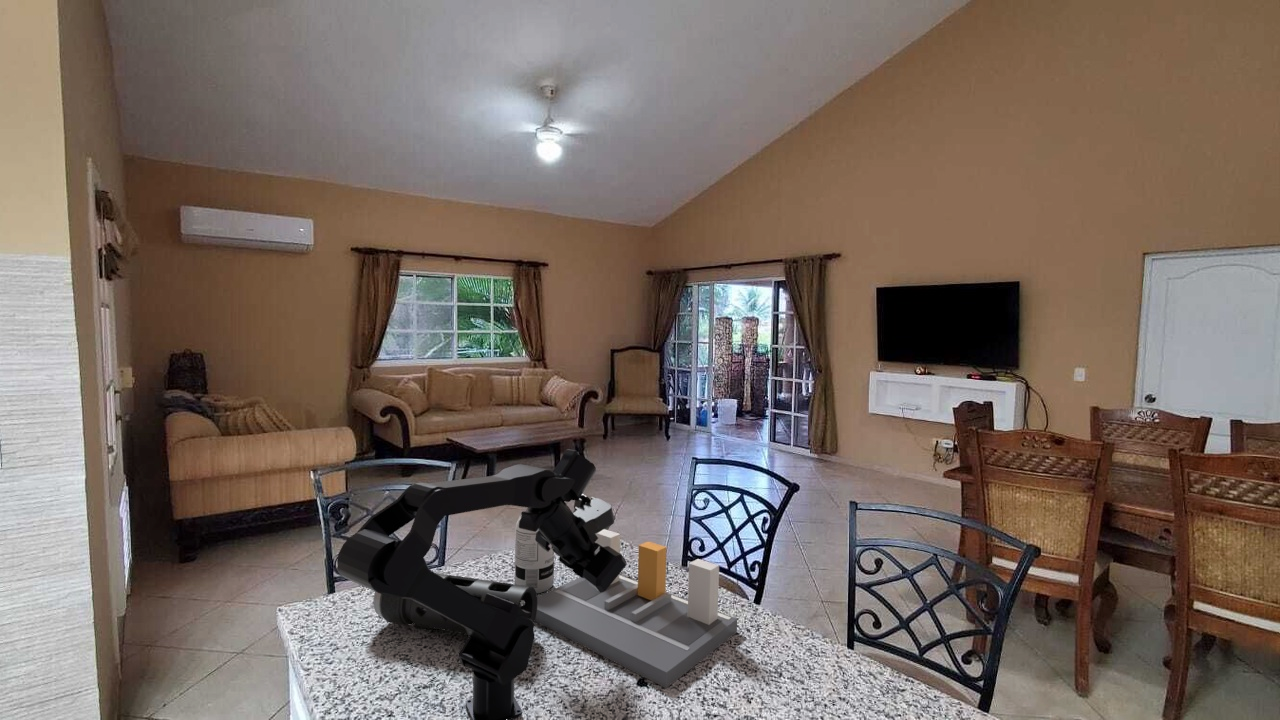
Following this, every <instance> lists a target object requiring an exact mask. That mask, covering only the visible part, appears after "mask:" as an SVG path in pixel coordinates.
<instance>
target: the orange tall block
mask: <svg viewBox="0 0 1280 720" xmlns="http://www.w3.org/2000/svg"><path fill="white" fill-rule="evenodd" d="M667 548H668V547H667V546H664V545H661V544H658V543H655V542H652V541H645V542H642V543H641V544H639V545H638V557H637V558H638V561H637V563H638V564H637V565H638V568H637V569H638V570H637V581H638V595H639V596H641V597H644V598H646V599H649V600H651V601H652V600H654V599H656V598H658V597H659V596H661V595H663V594H665V592H666V586H667V585H666V583H667V582H666V580H667V576H666V575H667Z"/></svg>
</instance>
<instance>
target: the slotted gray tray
mask: <svg viewBox="0 0 1280 720" xmlns="http://www.w3.org/2000/svg"><path fill="white" fill-rule="evenodd" d="M596 536H597V537H598V539H597V540H596V541H595V543H598V544H599V545H601V546H602V547H606V546H609V547H611V548H612V549H614V550H615V551H617V552H618V553H620V554H621V534H620V533H618V532H615V531H611V530H609V529H608V530H606V529H603V530H602V531H600V532H599V533H596ZM719 580H720V565H718V564H717V563H713V562H710V561H706V560H703V559H701V558H700V559H699V558H697V559H695V560H692V561H691V562H689V563H688V584H687V585H688V590H687V599H686V598H683V597H681V596H677V595H676V594H672V593H671V592H669V591H665V594H663V595H661V596H659V597H658V598H656V599H654V600H652V601H651V600H649V599H646V598H644V597H641V596H639V595H638V580H636V579H633V578H630V577H627V576H624V575H622V574H619V575H618V576H617V577H616V578H615V580H614V581H613V582H612V583H611V585H610V586H609V587H608V588H607V589H606V591H605V592H601V593H600V592H599V591H597V590H596V589H595V588H594V587H592V586H591V585H590V584H589V583H588V582H587V581H586V580H585V579H584V578H581V577H578V578H576V579H574V580H571V581H569V582H567V583H565V584H563V585H560V586H558V587H556V588H553V589H550V590H548V591H545V592H543V593H541V594H540V595H537V613H536V618H535V622H536V623H538V624H539V625H541V626H543V627H545V628H547V629H549V630H551V631H553V632H555V633H557V634H559V635H561V636H562V637H564V638H567V639H568V640H570V641H573V642H574V643H577V644H579V645H581V646H582V647H584V648H586V649H588V650H591V651H592V652H594V653H596V654H598V655H599V656H602V657H604V658H607V660H609V661H612V662H614V663H616V664H618V665H619V666H621V667H624V669H627V670H629V671H631V672H633V673H636V674H637V675H639V676H642V677H643V678H645V679H646V680H649V681H651V682H653V683H655V684H657V685H659V686H660V687H663V688H665V689H668V688H669V687H670V686H672V685H673V684H674V683H675V682H677V680H678V679H680V678H681V677H683V675H684V674H686V673H687V672H688V671H690V670H691V669H692V668H693V667H695V666H696V665H698V664H699V663H701V661H703V660H704V659H705V658H706V657H708V656H709V655H710V654H711V653H713V652H714V651H716V649H718V648H719V647H720V646H721V645H723V644H724V643H726V642H727V641H728V640H729V639H730V638H731V637H733V636H734V635H735V634H737V632H738V618H736V617H734V616H731V615H728V614H726V613H723V612H720V611H719V585H720V583H719V582H720V581H719ZM524 604H525V601H524V602H523V605H524ZM535 622H534V623H535Z"/></svg>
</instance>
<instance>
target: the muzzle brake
mask: <svg viewBox="0 0 1280 720" xmlns="http://www.w3.org/2000/svg"><path fill="white" fill-rule="evenodd" d="M435 573H436V574H437V575H439V576H441V577H442V578H444V579H446V580H447V581H449V582H451V583H452V584H454V585H456V586H457V587H459V588H461V589H462V590H464V591H466V592H468V593H469V594H471V595H473V596H474V597H476V598H478V599H479V600H481V601H483V602H484V599H485V596H486V594H487V593H488V594H491V595H494V596H496V597H499V598H502V599H504V600H507V601H510V602H512V603H515V604H516V605H518V606H519V607H520V608H521V609H523V610H525V611H528V612H530V613H531V615H530V617H529V618H530V619H531V620H532V621H533V622H534V623H535V618H536V613H537V596H538V594H536V591H535V589H534V588H533V587H530V586H523V585H516V584H515V583H507V582H502V581H501V582H500V581H495V580H493V581H492V580H487V579H479V578H472V577H466V576H459V575H454V574H453V575H451V574H443V573H439V572H438V573H437V572H435ZM521 601H524V602H525V604H524V603H523V604H521ZM372 604H373V610H374V612H375V614H376V615H378V616H379V617H381V618H383V619H384V621H386V622H387V623H390V624H395V625H396V624H397V625H403V626H410V625H414V628H415V629H417V630H424V631H427V632H432V631H433V630H434V629H435V630H443V631H448V632H454V633H459V634H460V636H465V635H468V634H467V631H466V629H465V628H464V627H463V626H461V625H459V624H457V623H455V622H453V621H452V620H450V619H448V618H446V617H444V616H442V615H440V614H438V613H436V612H434V611H432V610H430V609H428V608H427V607H425V606H423V605H421V604H419V603H417V602H415V601H413V600H411V599H402V598H397V597H393V596H388V595H384V594H380V593H377V592H375V591H374V595H373V603H372ZM468 636H469V635H468Z"/></svg>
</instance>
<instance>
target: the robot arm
mask: <svg viewBox="0 0 1280 720" xmlns="http://www.w3.org/2000/svg"><path fill="white" fill-rule="evenodd" d="M596 472H597V468H596V466H595V464H594V463H593V462H591V461H590V460H589V459H587V458H586V457H584V456H583V455H581V454H579V452H578V450H575V449H569V448H567V449H565V451H564V453H563V454H562V457H561V458H560V460H559V462H558V463H557V464H556V466H555V467H554V469H553V470H551V469H548V468H541V467H536V466H531V465H527V464H523V463H522V464H521V463H518V464H514V465H512V466H509V467H506V468H503V469H502V470H500V471H499V473H497V474H494V475H489V476H482V477H480V476H479V477H471V478H464V479H463V478H462V479H454V480H445V481H436V482H421V481H420V482H415V483H413V484H410V485H409V486H408V487H407V488H406V489H405V490H404V491H403V492H402V493H401V494H400V495H399V497H397V499H395V500H394V501H393V502H391V503H390V504H389V503H388V505H386V506H385V507H383V508H382V509H381V510H379V511H377V512H376V513H375V514H373V515H371V516H370V517H369V518H368V519H367V521H365V523H364V524H363V525H362V526H361V527H360V528H359V529H358V530H357V531H356V532H355V533H354V534H352V535H350V536H349V537H348V538H347V539H346V541H344V543H343V544H342V546H341V548H340V550H339V552H338V556H337V561H336V564H337V567H336V571H337V572H338V574H339V575H340V576H341V577H343V578H344V579H346V580H348V581H349V582H353V583H355V584H358V585H359V586H362V587H363V588H366V589H369V590H370V591H372V592H374V593H375V592H377V593H380V594H384V595H388V596H393V597H397V598H402V599H411V600H413V601H415V602H417V603H419V604H421V605H423V606H425V607H427V608H428V609H430V610H432V611H434V612H436V613H438V614H440V615H442V616H444V617H446V618H448V619H450V620H452V621H453V622H455V623H457V624H459V625H461V626H463V627H464V628H465V629H466V631H467V634H468V637H467V638H466V640H465V642H464V644H463V645H462V647H461V648H460V651H459V652H458V659H459V661H460V662H459V663H460V664H461V666H463V667H466V668H468V669H470V670H471V671H473V672H472V673H473V674H472V676H473V677H472V679H473V680H472V698H469V699H467V700H465V707H466V710H467V711H468V714H469V716H470V720H506V719H510V720H512V719H511V718H513V719H516V718H518V717H521V716H522V715H523V710H522V708H521V706H520V704H519V702H518V701H517V699H516V697H515V679H516V678H517V677H519V676H520V675H522V674H523V673H524V672H526V671H527V670H528V666H529V663H530V662H529V661H530V658H531V653H532V649H533V645H534V641H535V631H534V628H535V622H533V621H532V620H531V619H530V618H529V617H530V615H531V613H530V612H528V611H525V610H523V609H521V608H520V607H519V606H518V605H516V604H515V603H512V602H510V601H507V600H504V599H502V598H499V597H496V596H494V595H491V594H488V593H487V594H486V596H485V599H484V602H483V601H481V600H479V599H478V598H476V597H474V596H473V595H471V594H469V593H468V592H466V591H464V590H462V589H461V588H459V587H457V586H456V585H454V584H452V583H451V582H449V581H447V580H446V579H444V578H442V577H441V576H439V575H437V574H436V573H437V572H434V571H432V570H431V569H430V567H429V566H428V563H427V561H426V559H425V556H426V555H427V554H428V552H429V551H430V549H431V548H432V545H433V542H434V538H435V534H436V531H437V528H438V526H439V524H440V522H441V521H442V520H443V519H444V518H445V517H448V516H453V515H458V514H464V513H470V512H475V511H481V510H485V509H492V508H498V507H502V506H503V507H504V506H516V507H521V508H526V510H525V511H524V510H523V511H522V512H521V513H520V516H521V519H520V521H519V528H520V529H525V530H529V531H534V532H536V531H537V530H538V529H539V531H538V532H537V533H536V538H535V540H536V542H537V543H538V544H539V545H540V546H541V547H542V548H543V549H545V550H546V551H547V552H548V551H549V550H550V547H549V546H548V545H549V544H551V545H552V546H553V549H552V550H553V551H554V554H556V555H557V556H559V557H558V560H559V562H561V564H562V565H564V566H565V567H566V568H569V569H571V571H572V572H573V573H574V574H575V575H577V576H578V578H580V577H581V578H584V579H585V580H586V581H587V582H588V583H589V584H590V585H591V586H592V587H594V588H595V589H596V590H597V591H599V592H600V593H601V592H605V591H606V589H607V588H608V587H609V586H610V585H611V583H612V582H613V581H614V580H615V578H616V577H617V576H618V575H619V574H620V573H622V571H623V570H624V569H625V568H626V567H627V560H626V559H625V557H624V556H623V555H622V554H621V552H620V553H618V552H617V551H615V550H614V549H612V548H611V547H609V546H606V547H602V546H601V545H599V544H598V543H595V541H596V540H597V539H598V537H597V536H596V533H599V532H600V531H602V530H603V529H605V528H606V527H608V526H610V527H611V526H613V524H614V523H615V520H614V517H613V515H614V513H613V507H612V505H611V504H610V503H608V502H606V501H605V500H603V499H601V498H599V497H596V498H595V497H594V496H591V497H589V496H587V495H586V494H584V491H586V488H587V487H588V485H589V483H590V482H591V480H592V478H593V477H594V475H595V474H596ZM571 501H574V505H573V509H574V510H573V511H572V510H571V508H570V507H569V506H568V505H567V503H569V502H571ZM566 502H567V503H566ZM412 521H413V522H412ZM410 522H412V524H411V528H410V531H408V533H407V534H406V536H405V537H404V538H402V540H401V539H398V538H396V537H392V536H391V535H392V534H394V533H396V531H399V530H400V529H401V528H403V527H404V526H406V525H407V524H409V523H410ZM620 575H621V574H620Z"/></svg>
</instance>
